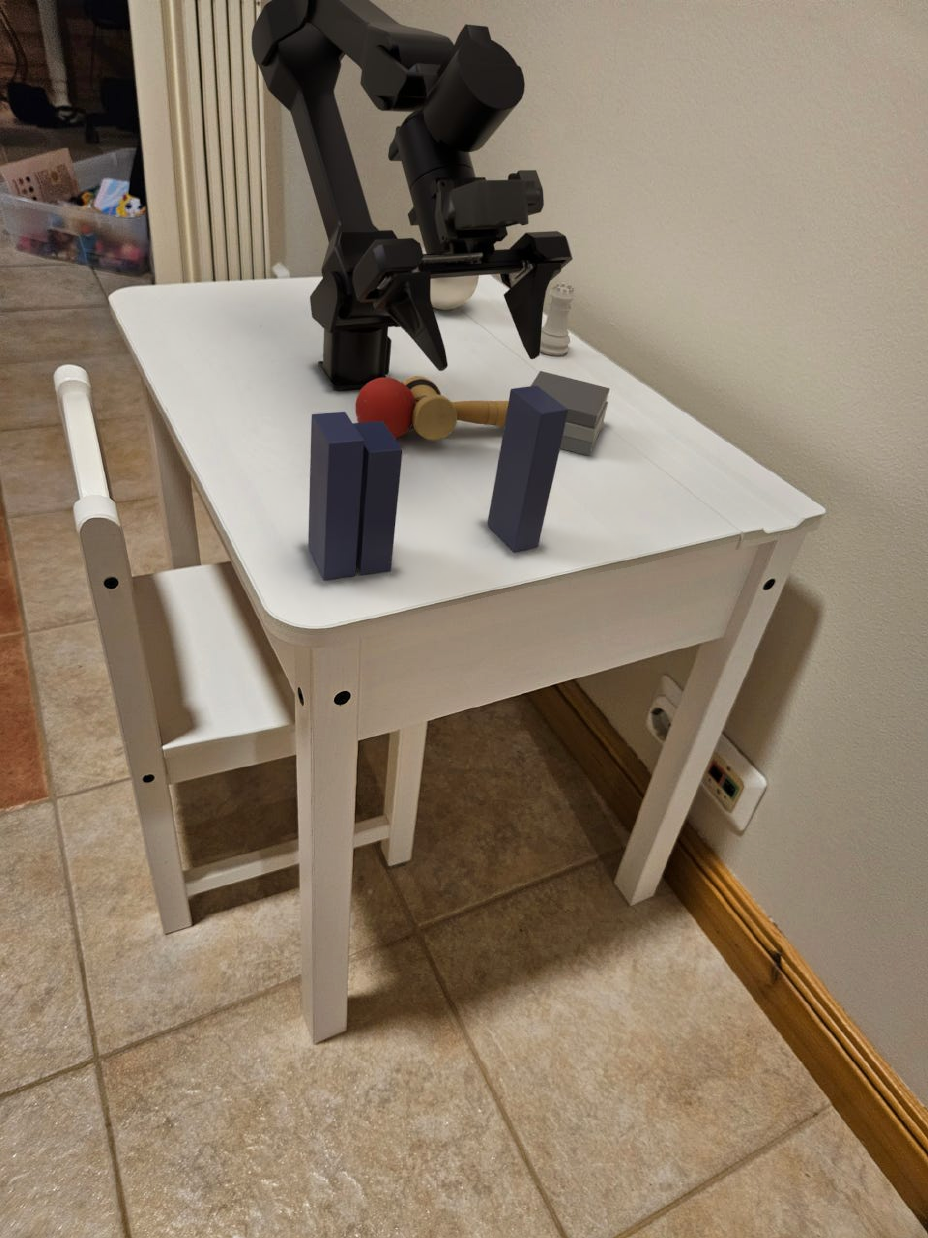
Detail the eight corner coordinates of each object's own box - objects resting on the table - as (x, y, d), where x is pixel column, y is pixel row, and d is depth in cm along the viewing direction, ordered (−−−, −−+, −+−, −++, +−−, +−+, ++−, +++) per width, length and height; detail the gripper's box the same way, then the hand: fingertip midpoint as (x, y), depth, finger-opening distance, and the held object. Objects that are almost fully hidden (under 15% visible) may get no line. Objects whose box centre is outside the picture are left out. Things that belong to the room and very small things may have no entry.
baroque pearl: (490, 311, 120) (501, 235, 114) (443, 324, 114) (453, 244, 108) (441, 290, 125) (450, 215, 118) (394, 301, 118) (400, 223, 112)
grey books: (515, 436, 92) (522, 397, 90) (533, 407, 99) (540, 369, 96) (589, 456, 91) (598, 417, 88) (602, 425, 97) (612, 387, 95)
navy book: (513, 552, 75) (541, 413, 67) (486, 525, 78) (510, 388, 70) (538, 547, 77) (569, 409, 69) (510, 519, 80) (537, 384, 71)
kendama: (499, 419, 98) (341, 407, 90) (518, 370, 93) (354, 353, 86) (522, 464, 93) (358, 455, 86) (544, 414, 89) (373, 400, 81)
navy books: (323, 580, 69) (328, 443, 61) (307, 548, 72) (311, 413, 65) (391, 571, 71) (404, 436, 64) (373, 540, 74) (383, 408, 67)
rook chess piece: (575, 354, 112) (589, 291, 108) (548, 358, 110) (561, 294, 105) (554, 340, 115) (566, 278, 110) (527, 344, 113) (538, 281, 108)
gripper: (376, 124, 63) (433, 335, 63) (583, 128, 72) (633, 314, 72) (329, 206, 73) (378, 388, 73) (516, 201, 82) (560, 364, 82)
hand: (490, 363), depth 75 cm, fingers open, 9 cm apart
